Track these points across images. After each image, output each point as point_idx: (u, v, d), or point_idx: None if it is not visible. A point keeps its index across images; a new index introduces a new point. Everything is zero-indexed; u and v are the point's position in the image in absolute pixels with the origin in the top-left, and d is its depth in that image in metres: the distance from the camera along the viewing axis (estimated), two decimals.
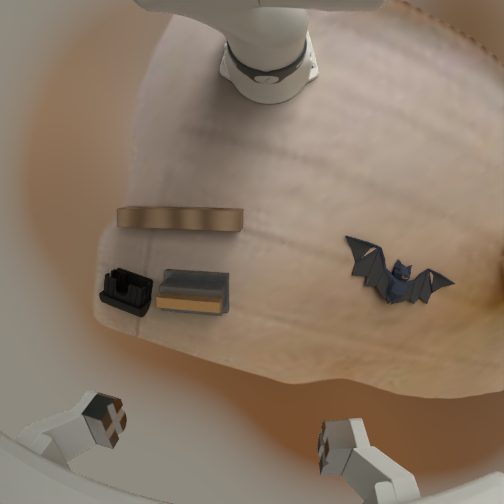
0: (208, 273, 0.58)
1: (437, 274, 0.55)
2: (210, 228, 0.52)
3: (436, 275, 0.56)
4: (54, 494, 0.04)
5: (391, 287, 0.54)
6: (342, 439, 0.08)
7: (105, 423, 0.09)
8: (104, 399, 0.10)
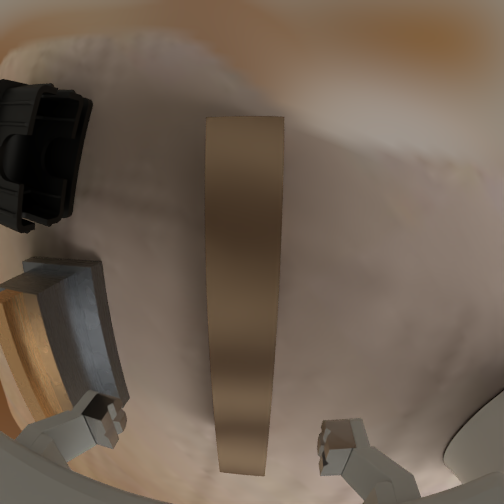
0: (115, 370, 0.21)
1: None
2: (220, 434, 0.17)
3: None
4: (54, 494, 0.04)
5: None
6: (343, 439, 0.08)
7: (105, 423, 0.09)
8: (104, 399, 0.10)
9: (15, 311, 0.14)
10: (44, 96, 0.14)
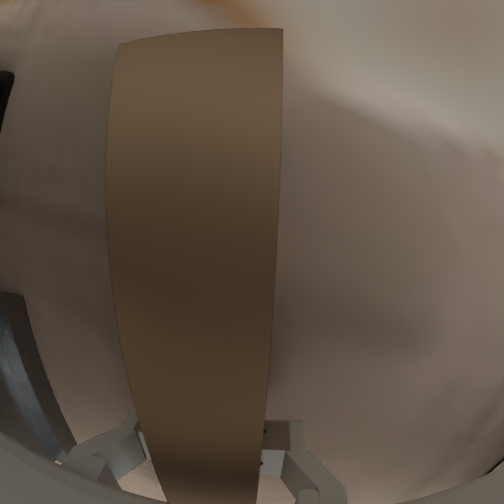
0: (58, 430, 0.13)
1: None
2: None
3: None
4: (54, 494, 0.04)
5: None
6: (276, 440, 0.08)
7: None
8: None
9: None
10: None
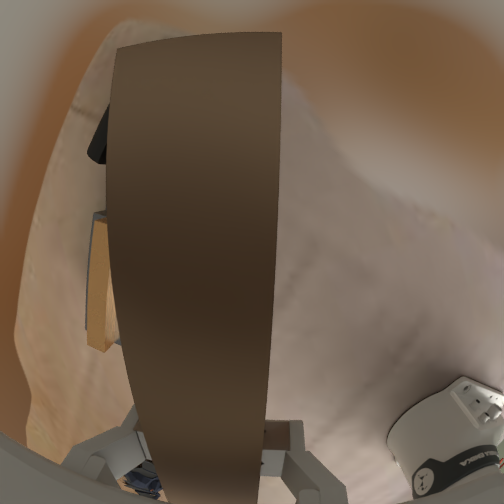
0: None
1: None
2: None
3: (153, 497, 0.43)
4: (54, 494, 0.04)
5: (140, 480, 0.37)
6: (277, 440, 0.08)
7: None
8: None
9: None
10: None
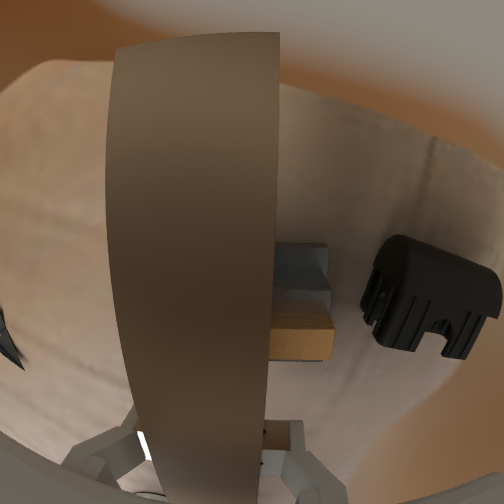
0: None
1: None
2: None
3: None
4: (54, 494, 0.04)
5: None
6: (277, 440, 0.08)
7: None
8: None
9: None
10: None
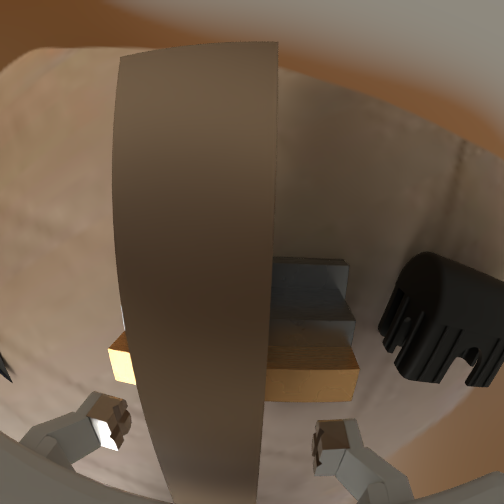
0: None
1: None
2: None
3: None
4: (54, 494, 0.04)
5: None
6: (336, 439, 0.08)
7: (110, 425, 0.09)
8: (109, 400, 0.10)
9: None
10: None
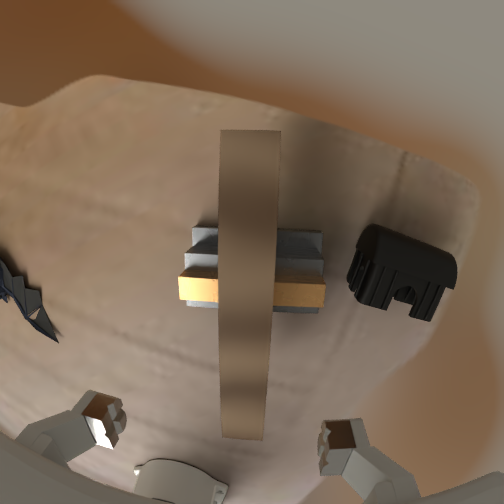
0: None
1: None
2: (224, 396, 0.21)
3: None
4: (54, 494, 0.04)
5: None
6: (342, 439, 0.08)
7: (105, 423, 0.09)
8: (104, 399, 0.10)
9: None
10: None
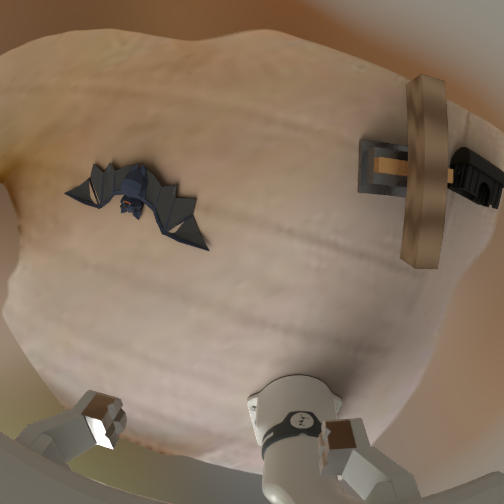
0: (383, 194, 0.42)
1: (87, 202, 0.46)
2: (422, 225, 0.31)
3: (88, 200, 0.47)
4: (54, 494, 0.04)
5: (141, 188, 0.43)
6: (342, 439, 0.08)
7: (105, 423, 0.09)
8: (104, 399, 0.10)
9: None
10: None
